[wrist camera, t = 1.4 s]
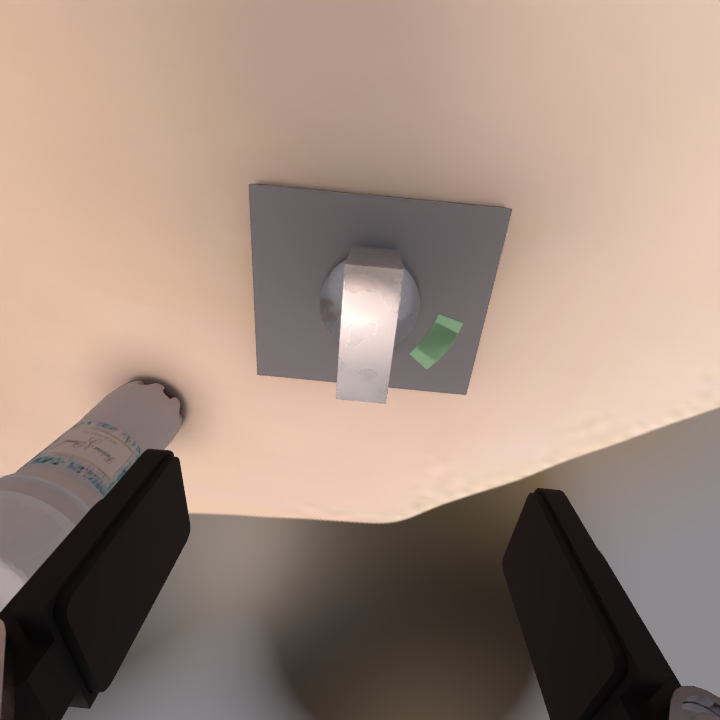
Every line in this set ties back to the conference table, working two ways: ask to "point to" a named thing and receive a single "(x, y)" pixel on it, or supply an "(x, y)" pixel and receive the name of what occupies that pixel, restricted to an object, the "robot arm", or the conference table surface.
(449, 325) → the dial board
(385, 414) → the conference table surface
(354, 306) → the knob
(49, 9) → the conference table surface
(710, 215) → the conference table surface
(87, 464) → the bottle
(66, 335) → the conference table surface
